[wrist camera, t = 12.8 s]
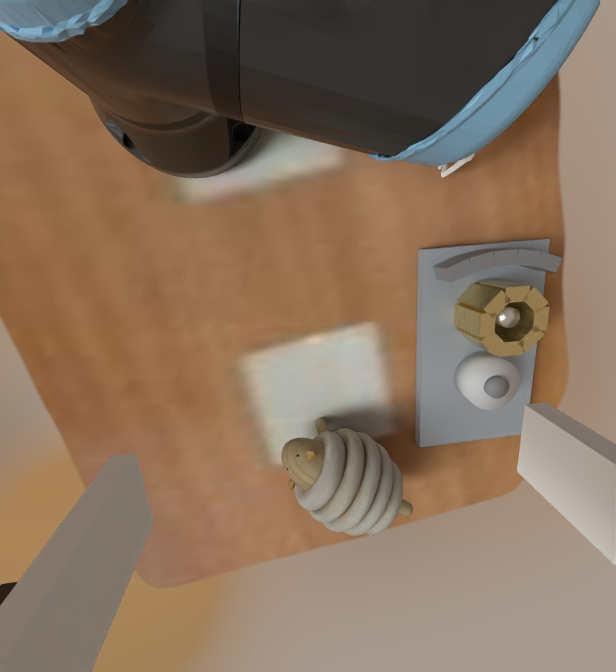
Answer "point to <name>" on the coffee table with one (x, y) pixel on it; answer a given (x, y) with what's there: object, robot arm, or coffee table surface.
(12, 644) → the robot arm
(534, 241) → the carrier plate
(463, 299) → the gold octagonal ring
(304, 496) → the toy sheep
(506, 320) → the pin
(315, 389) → the coffee table surface
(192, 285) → the coffee table surface
